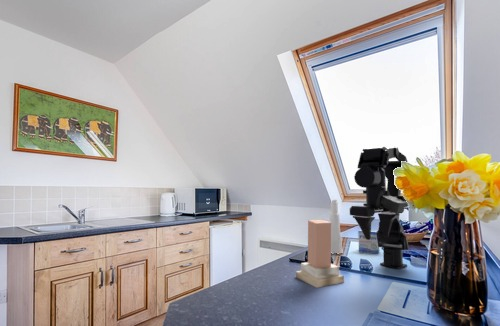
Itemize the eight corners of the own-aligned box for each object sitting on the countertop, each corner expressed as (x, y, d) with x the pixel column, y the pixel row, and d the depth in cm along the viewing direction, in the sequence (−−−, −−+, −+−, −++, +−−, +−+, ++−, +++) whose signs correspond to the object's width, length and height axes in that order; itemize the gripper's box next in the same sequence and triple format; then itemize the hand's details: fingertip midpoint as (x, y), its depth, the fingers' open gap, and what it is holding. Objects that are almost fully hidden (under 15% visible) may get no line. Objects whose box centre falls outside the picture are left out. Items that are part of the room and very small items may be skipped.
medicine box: (358, 251, 122) (357, 230, 123) (359, 249, 126) (359, 229, 126) (378, 253, 118) (378, 232, 119) (379, 251, 122) (378, 230, 123)
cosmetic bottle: (337, 255, 115) (336, 200, 117) (325, 252, 120) (323, 199, 122) (346, 253, 119) (344, 199, 121) (333, 250, 124) (332, 199, 125)
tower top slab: (322, 268, 92) (322, 260, 93) (339, 275, 85) (338, 266, 85) (301, 271, 89) (301, 263, 89) (316, 279, 82) (316, 270, 82)
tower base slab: (321, 275, 93) (321, 267, 93) (344, 284, 84) (343, 275, 84) (296, 279, 89) (295, 271, 89) (316, 290, 80) (316, 281, 80)
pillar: (322, 261, 90) (322, 219, 90) (330, 266, 85) (331, 222, 85) (307, 262, 89) (308, 220, 89) (315, 268, 84) (316, 223, 84)
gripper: (381, 187, 78) (383, 246, 77) (418, 187, 88) (420, 239, 87) (347, 187, 87) (349, 239, 86) (384, 186, 97) (386, 233, 96)
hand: (377, 238), depth 89 cm, fingers open, 9 cm apart
